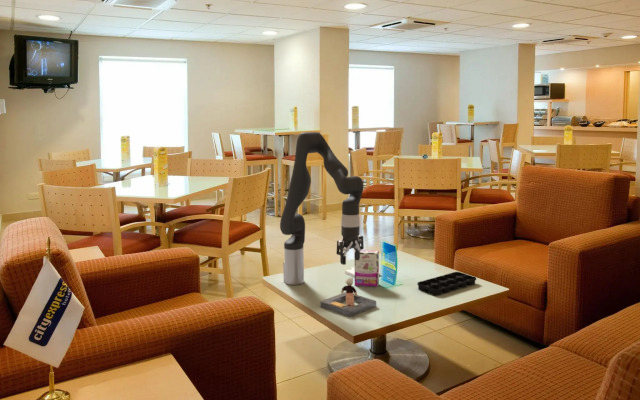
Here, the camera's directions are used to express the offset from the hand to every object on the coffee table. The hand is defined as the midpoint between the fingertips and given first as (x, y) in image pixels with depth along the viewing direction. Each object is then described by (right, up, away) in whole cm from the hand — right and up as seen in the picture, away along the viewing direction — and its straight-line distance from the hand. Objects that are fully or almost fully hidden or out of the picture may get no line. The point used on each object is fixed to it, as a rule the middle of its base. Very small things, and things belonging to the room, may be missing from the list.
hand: (350, 262), depth 229 cm
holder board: (-1, -19, +2) cm, 19 cm away
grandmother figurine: (0, -19, +3) cm, 20 cm away
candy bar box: (+10, -14, +30) cm, 35 cm away
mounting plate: (+9, -12, +47) cm, 49 cm away
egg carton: (+47, -15, +27) cm, 56 cm away
